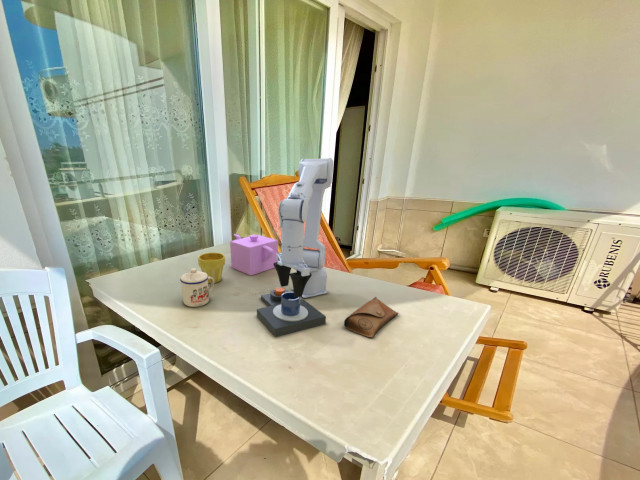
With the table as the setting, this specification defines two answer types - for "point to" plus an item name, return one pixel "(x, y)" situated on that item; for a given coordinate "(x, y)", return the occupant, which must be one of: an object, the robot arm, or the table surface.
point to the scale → (290, 319)
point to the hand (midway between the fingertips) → (290, 290)
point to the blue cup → (290, 304)
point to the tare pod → (272, 298)
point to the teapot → (253, 253)
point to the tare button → (279, 291)
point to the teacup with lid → (195, 288)
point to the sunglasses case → (369, 318)
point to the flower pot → (212, 265)
